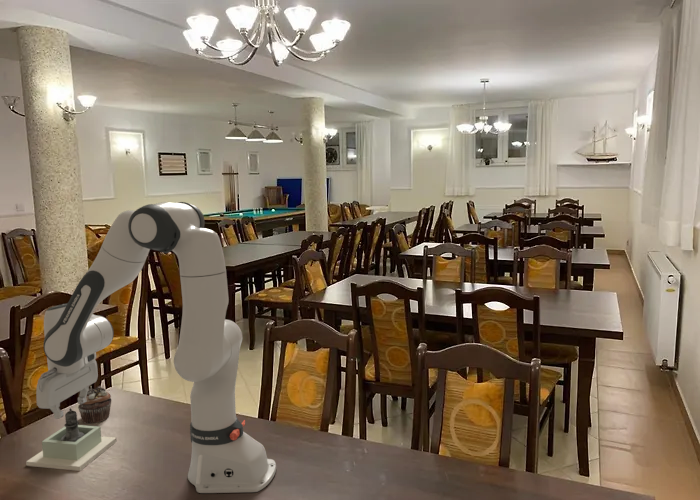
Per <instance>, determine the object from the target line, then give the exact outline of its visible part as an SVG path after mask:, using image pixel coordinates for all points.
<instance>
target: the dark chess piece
mask: <svg viewBox="0 0 700 500" xmlns="http://www.w3.org/2000/svg"><path fill="white" fill-rule="evenodd" d="M64 414H65V415H64V419H65V424H64V425H63V427H66V435H64V436H63V437H62V438H61V441H69V442H76V441H77V440H78V439H80V438H81V437H83V436H84V433H82V432H79V430H78V425H80V424H79V423H80V422H79V421H78V414H77V411H75V410H72V408H71V407H70V408H69V411H67V412H65V413H64Z"/></svg>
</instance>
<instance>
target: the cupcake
mask: <svg viewBox="0 0 700 500" xmlns="http://www.w3.org/2000/svg"><path fill="white" fill-rule="evenodd" d="M86 398H87V402H85V403H84V404H78V406H77V409H78V411H79V415H80V417H81V421H82V422H83V424H87V425H88V424H91V425H92V424H98V423H101V422H103V421H105V420H107V419H109V416H110V412H111V406H112V402H113V401H112V396H111V394H110V393H109V391H107V390H106V388H104V387H103V386H101V385H99V386H97V387H95V388H92V387H89V390H88V393H87V396H86Z"/></svg>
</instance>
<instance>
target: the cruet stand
mask: <svg viewBox="0 0 700 500" xmlns="http://www.w3.org/2000/svg"><path fill="white" fill-rule="evenodd" d="M101 428H102V427H101V426H96V425H85V424H78V430H79V432H82V433H84V436H83V437H81V438H80V439H78V440H77V441H76V442H69V441H61V438H62V437H63V436H64V435H66V427H65V426H63V427H62V428H60V429H59V430H57V431H55V432H54V433H52V434H51V435H49V436H48V437H46V438H44V440H42V441H41V449H42V450H41V451H40V452H38V453H36V454H35V455H33V456H32V457H30V458H29V459H27V460H26V462H25V463H26V466H27V467H36V468H37V467H38V468H46V469H47V468H48V469H55V470H56V469H57V470H68V471H76V472H77V471H78V472H81V471H82V470H83V469H85V468H86V466H88V465H90V464H91V463H92V462H93V461H94V460H95V459H97V458H98V457H99V456H101V455H102V454H103V453H104V452H106V451H107V450H108V449H109V448H111V446H113V445H114V444H115V443H116V442H117V437H114V436H112V437H111V436H102V430H101Z"/></svg>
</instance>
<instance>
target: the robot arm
mask: <svg viewBox="0 0 700 500" xmlns="http://www.w3.org/2000/svg"><path fill="white" fill-rule="evenodd" d="M150 250H153V251H158V252H160V253H164V254H168V253H169V254H170V252H173V253H174V254H175V255H176V257H177V259H178V265H179V276H180V277H179V278H180V285H181V286H180V287H181V289H180V290H181V297H182V298H181V299H182V316H181V325H180V330H179V331H180V333H179V339H178V345H177V348H176V351H175V354H174V356H173V365H174V368H175V371H176V373H177V374H178V375H179V376H180V377H181V378H182V379H183V380H185V381H188V382H192V383H193V385H192V388H191V390H190V413H191V416H190V417H191V418H190V419H191V422H190V425H189V426H190V428H189V429H190V433H189V434H190V442H191V456H190V458H191V459H190V465H189V469H188V472H187V479H188V481H189V483H191V484H192V485H194V486H195V491H196V493H198V494H199V493H200V494H217V493H218V494H219V493H220V494H223V493H225V494H226V493H227V494H228V493H229V494H230V493H257V492H260V491H261V490H263V489H264V488H266V486H268V485H269V484H270V483H271V481H272V480H273V478H274V476H275V474H276V472H277V463H276V461H275V459H272V458H268V456H267V451H266V449H265V447H264V445H263V444H262V443H261V442H259V441H257V440H256V439H254V438H253V437H252V436H251V435H249V434H248V433H246V432H245V431H244V427H245V425H246V420H245V419H244V420H243V421H242V422H240V420H239V418H238V417H237V414H236V413H237V412H236V409H237V408H236V407H237V406H236V383H237V377H238V369H239V358H240V350H241V347H242V346H241V345H242V342H243V332H242V329H241V328H240V326H239V325H238V324H237V323H236V322H234V321H233V320H231V319H226V315H227V310H228V307H229V306H228V305H229V300H230V299H229V298H230V297H229V289H228V288H229V287H228V278H227V277H228V276H227V269H226V267H227V265H226V259H225V255H224V250H223V247H222V243H221V239H220V236H219V235H218V233H217V232H216V231H214V230H212V229H209V228H206V227H205V218H204V214H203V213H202V211H201V210H200V208H199V207H197V206H196V205H194V204H193V203H189V202H185V201H180V202H176V201H175V202H172V201H162V202H158V203H157V202H156V203H150V204H146V205H143V206H141V207H138V208H137V209H136V210H131V209H129V210H124V211H122V212H120V214H118V215H117V217H116V218H115V220H114V221H113V222H112V225H111V226H110V228H109V230H108V231H107V233H106V235H105V237H104V240H103V242H102V244H101V246H100V249H99V251H98V253H97V255H96V257H95V258H94V260H93V262H92V264H91V266H90V267H89V268H88V270H87V271H86V272H85V274H84V275H83V276H82V278H81V280H79V282H78V284H76V287H75V288H74V291H73V293H72V294H71V296H70V297H69V298H70V299H69V300H68V302H66V303H62V304H58V305H55V306H52V307H49V308H48V309H46V311H45V312H44V317H43V332H44V333H43V334H44V339H43V346H42V347H43V352H44V355H45V356H46V360H47V361H46V362H47V369H48V370H47V371H45V372H43V373H41V374H40V377H39V378H38V379H37V384H36V394H35V395H36V406H38V408H39V409H45V410H46V409H48V410H50V411H51V412H52V413H53V418H54V419H55V420H60V419H61V418H63V417H65V415H64V414H65V413H64V410H61V408H60V407H61V403H62V402H63V401H65V400H67V399H69V398H70V397H72V396H73V395H76V394H77V393H79V395H78V397H77V404H78V405H80V404H84V403H85V402H87V398H86V396H87V393H88V391H89V390H90V386H91V385H93V384H94V383H96V382H97V380H98V377H99V374H98V373H99V372H98V371H99V370H98V363H97V361H96V359H97V352H99V351H101V350H103V349H105V348H107V347H109V346H110V345H111V343H112V342H113V339H114V333H115V332H114V327H113V325H112V323H111V322H110V320H109V319H108V318H107V317H104V316H103V315H99V314H98V315H96V314H94V312H95V310H96V308H97V307H99V304H100V303H101V302H103V300H105V299H106V298H107V297H109V296H110V295H112V294H113V293H115V292H117V291H118V290H121V289H122V288H124V287H126V286H127V285H128V286H129V285H130V284H131V283H132V282H133V281H135V279H136V278H137V277H138V275H139V274H140V272H141V271H142V270H143V267H144V265H145V263H146V260H147V258H148V255H149V253H150Z"/></svg>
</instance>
